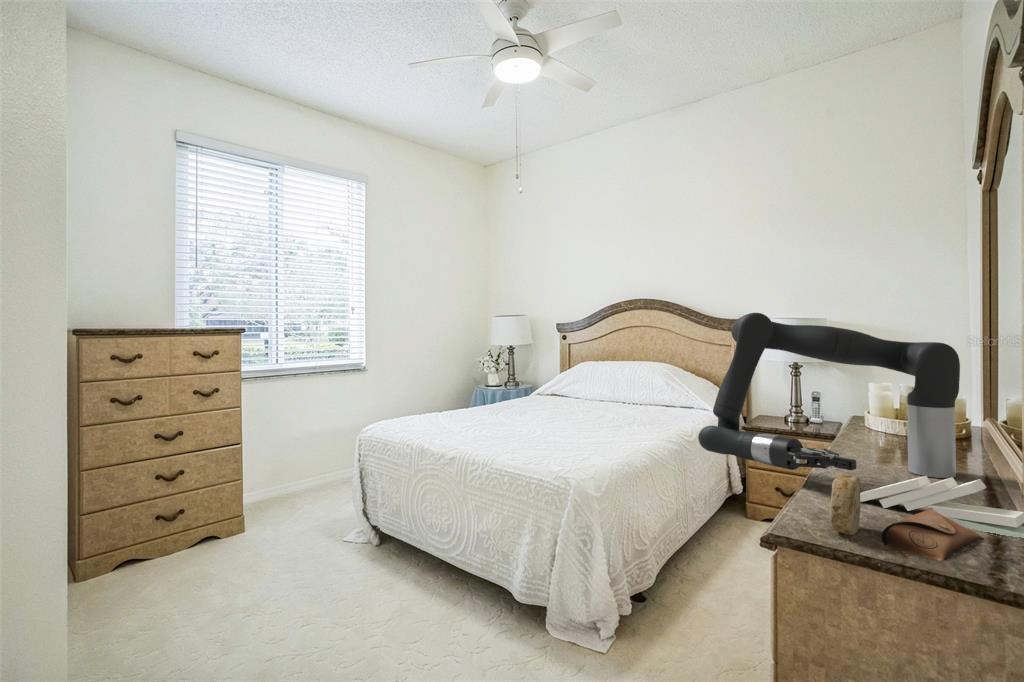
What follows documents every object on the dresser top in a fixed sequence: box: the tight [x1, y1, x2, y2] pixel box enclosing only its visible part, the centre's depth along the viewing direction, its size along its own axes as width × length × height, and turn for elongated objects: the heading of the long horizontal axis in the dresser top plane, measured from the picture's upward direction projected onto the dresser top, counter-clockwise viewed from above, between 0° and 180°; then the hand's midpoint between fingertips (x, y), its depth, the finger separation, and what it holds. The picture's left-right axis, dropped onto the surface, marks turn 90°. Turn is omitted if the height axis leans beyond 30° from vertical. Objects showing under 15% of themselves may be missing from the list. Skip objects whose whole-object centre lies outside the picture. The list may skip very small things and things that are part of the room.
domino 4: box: [927, 501, 1024, 527], centre depth 90 cm, size 2×5×12 cm
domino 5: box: [946, 517, 1024, 538], centre depth 88 cm, size 2×5×12 cm
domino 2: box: [879, 477, 959, 509], centre depth 97 cm, size 2×5×12 cm
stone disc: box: [829, 474, 862, 536], centre depth 88 cm, size 10×4×10 cm, turn 135°
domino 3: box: [902, 478, 987, 512], centre depth 94 cm, size 2×5×12 cm
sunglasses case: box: [881, 508, 983, 562], centre depth 84 cm, size 18×7×7 cm
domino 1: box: [860, 475, 932, 503], centre depth 101 cm, size 2×5×12 cm
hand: (854, 465), depth 106 cm, fingers closed
